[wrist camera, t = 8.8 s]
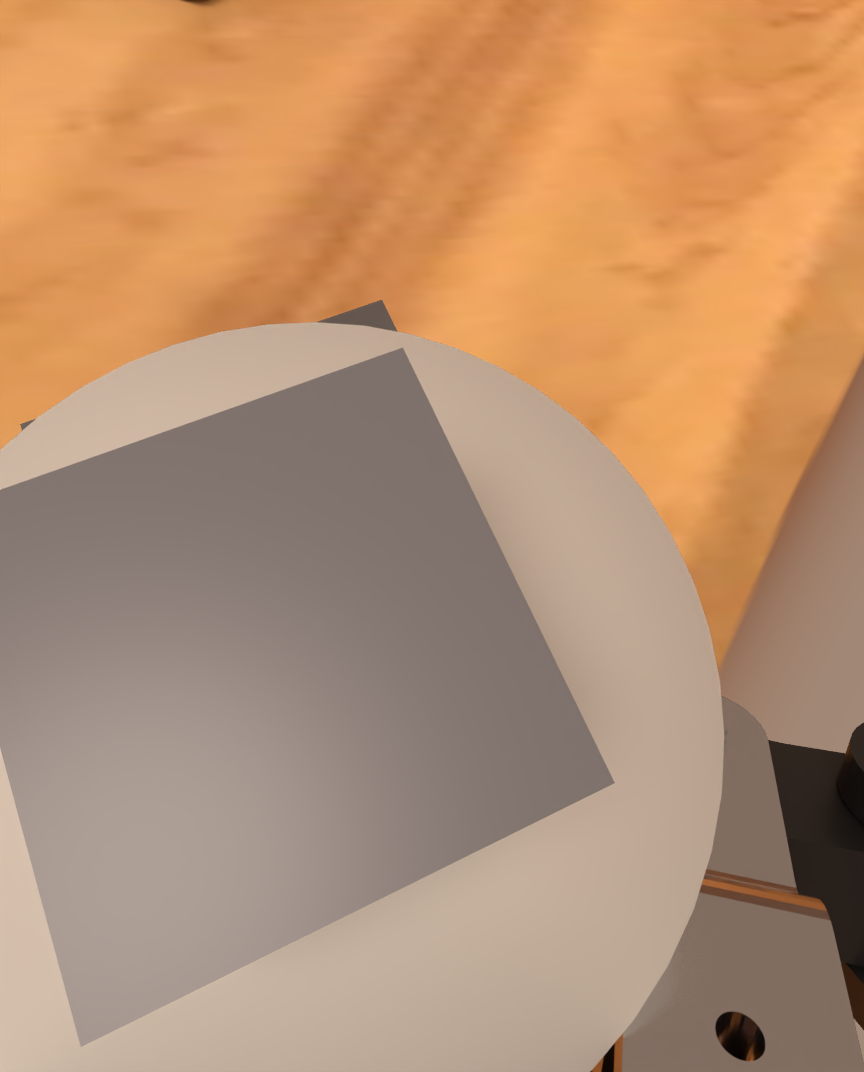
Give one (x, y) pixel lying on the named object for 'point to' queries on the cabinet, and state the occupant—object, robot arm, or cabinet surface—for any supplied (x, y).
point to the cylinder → (339, 719)
